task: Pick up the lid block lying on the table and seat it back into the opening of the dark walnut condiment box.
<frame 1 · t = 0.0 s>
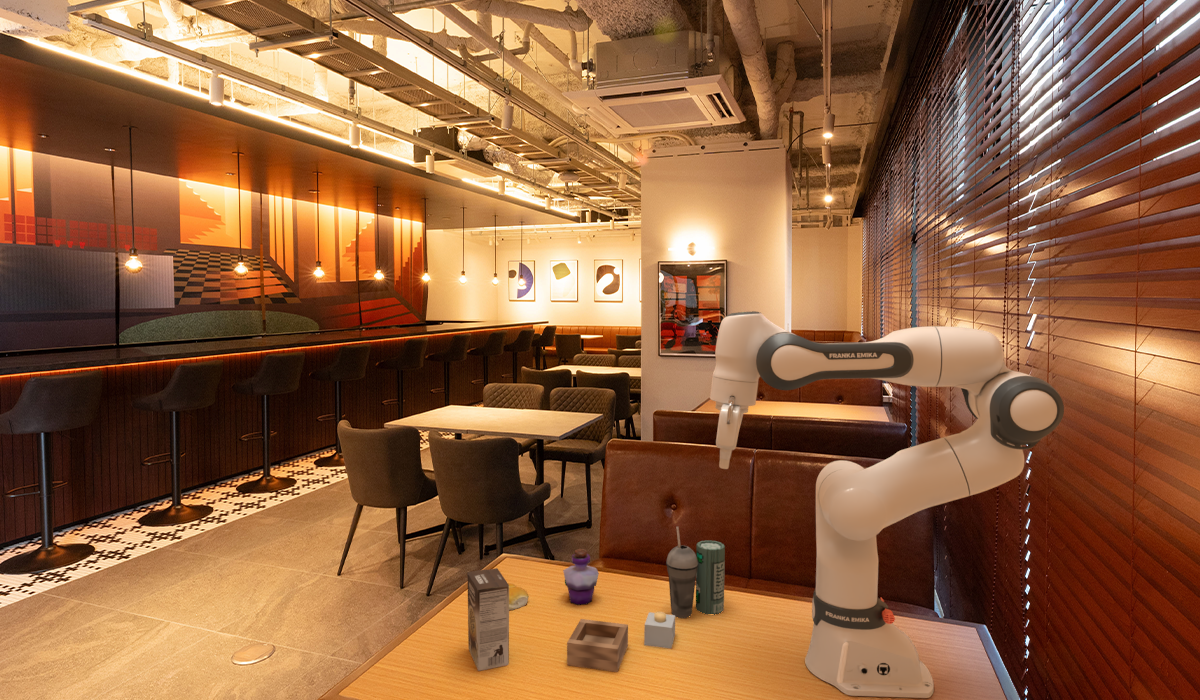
hand: (725, 462, 129), 39 cm above the table, tool pointing down, fingers open, 8 cm apart
can: (709, 609, 151), on the table
condiment box: (598, 655, 131), on the table
bread roll: (509, 603, 154), on the table
coffee box: (488, 658, 130), on the table
beverage cup: (681, 614, 149), on the table
potion bottle: (580, 600, 155), on the table
lid: (659, 640, 137), on the table
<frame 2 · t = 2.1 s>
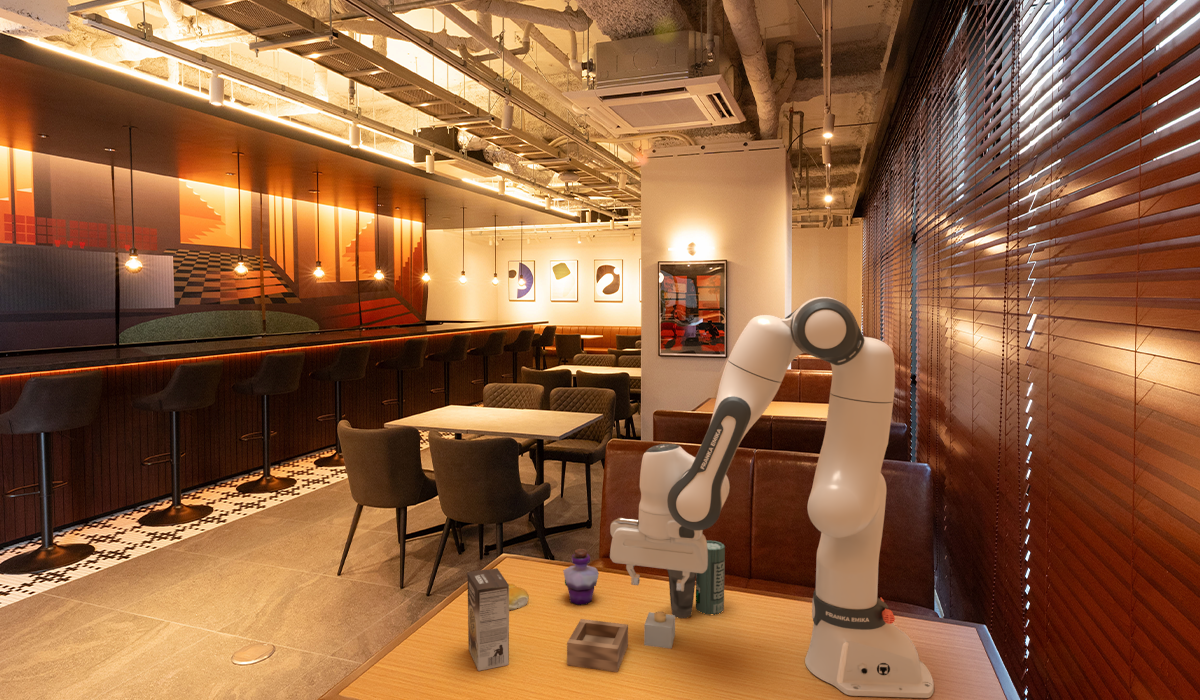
hand: (657, 587, 136), 11 cm above the table, tool pointing down, fingers open, 8 cm apart
nothing on the table moved.
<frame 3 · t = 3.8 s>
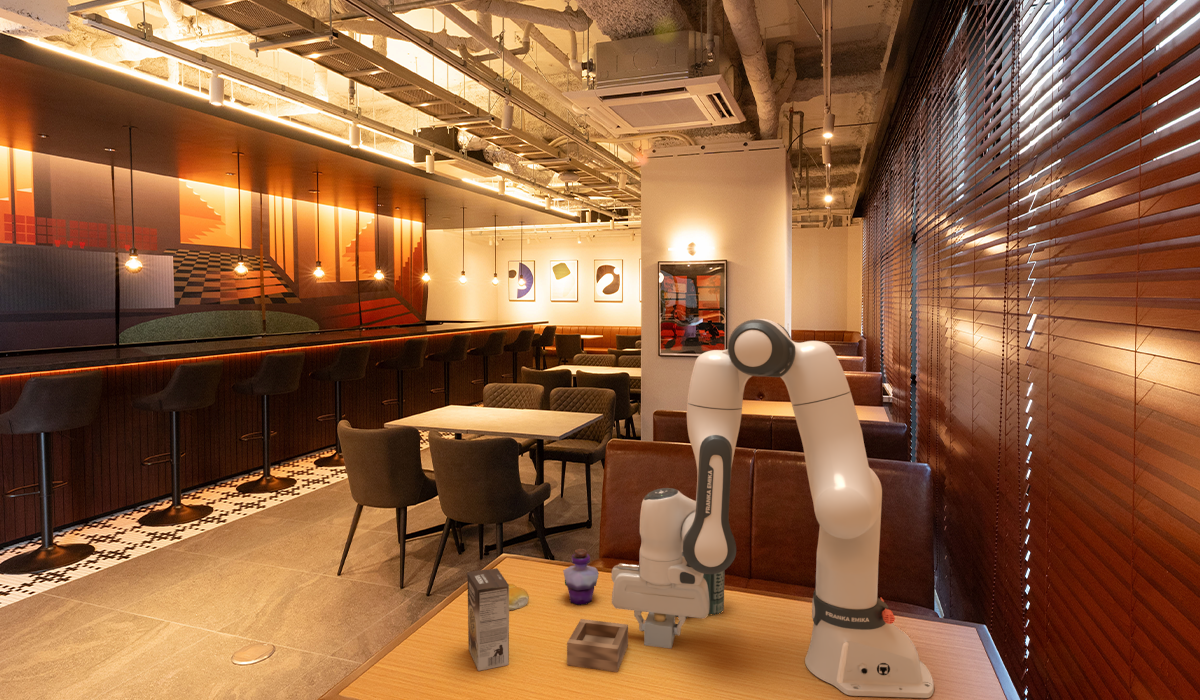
hand: (659, 632, 137), 2 cm above the table, tool pointing down, fingers closed on lid, 6 cm apart
lid: (659, 640, 137), on the table, touching gripper
everything else where it was.
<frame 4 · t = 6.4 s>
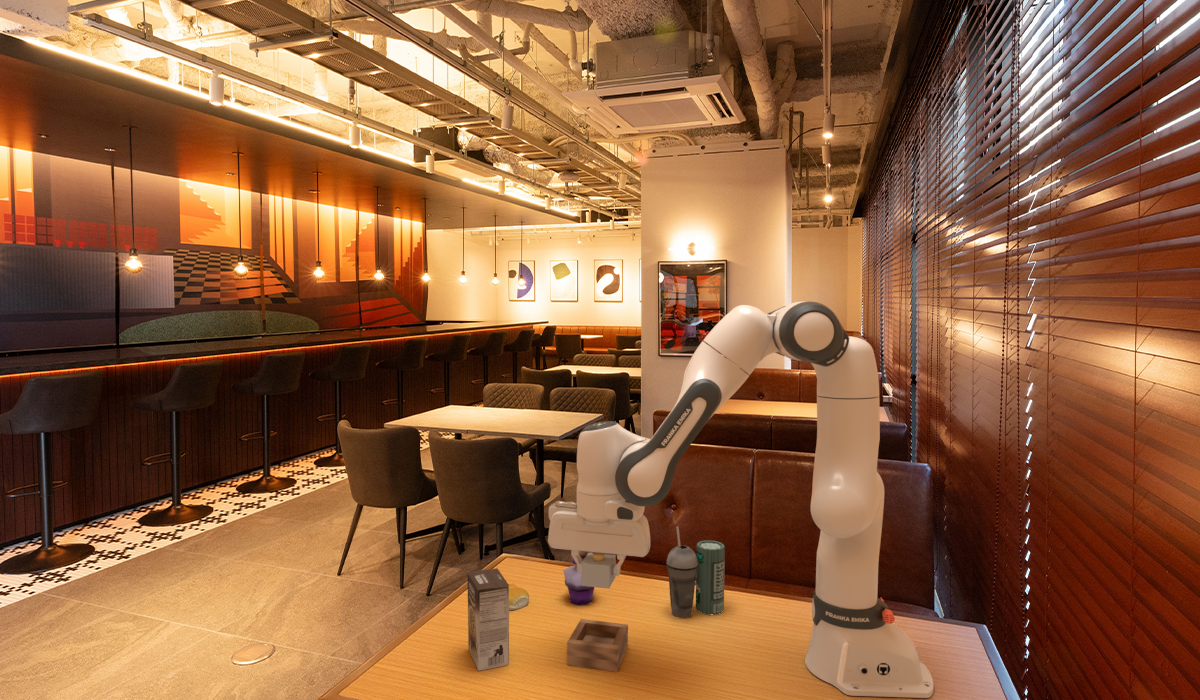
hand: (598, 572, 130), 17 cm above the table, tool pointing down, fingers closed on lid, 6 cm apart
lid: (598, 581, 130), point 15 cm above the table, touching gripper
everything else where it was.
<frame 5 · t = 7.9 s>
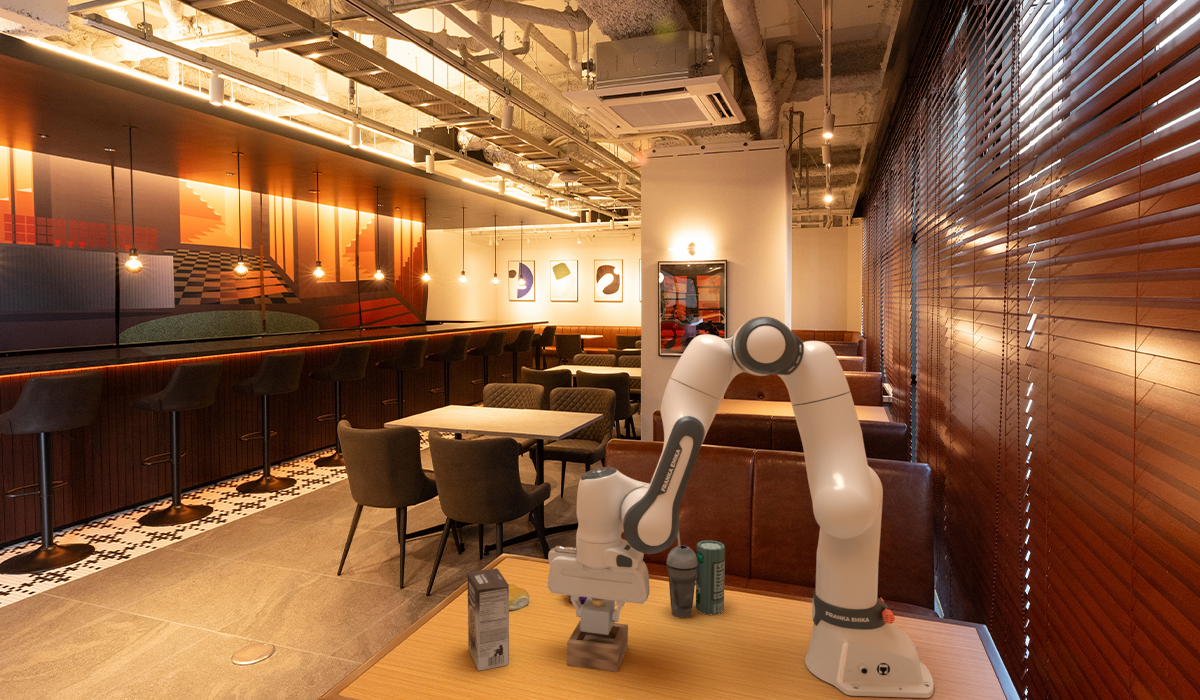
hand: (597, 618, 130), 8 cm above the table, tool pointing down, fingers closed on lid, 6 cm apart
lid: (597, 626, 131), point 6 cm above the table, touching gripper
everything else where it was.
when the fingers open (6 cm above the table, at t = 9.2 s): lid drops 2 cm, resting on condiment box.
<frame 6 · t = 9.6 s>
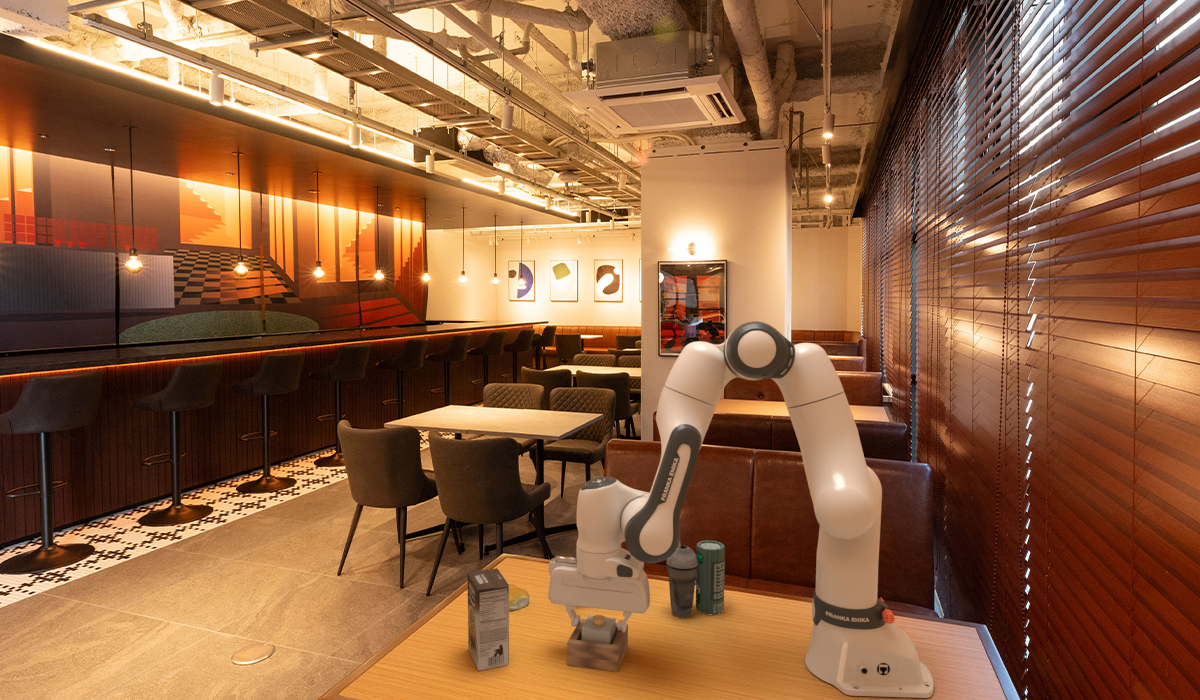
hand: (598, 628, 130), 6 cm above the table, tool pointing down, fingers open, 8 cm apart
lid: (598, 645, 131), point 2 cm above the table, touching condiment box
everything else where it was.
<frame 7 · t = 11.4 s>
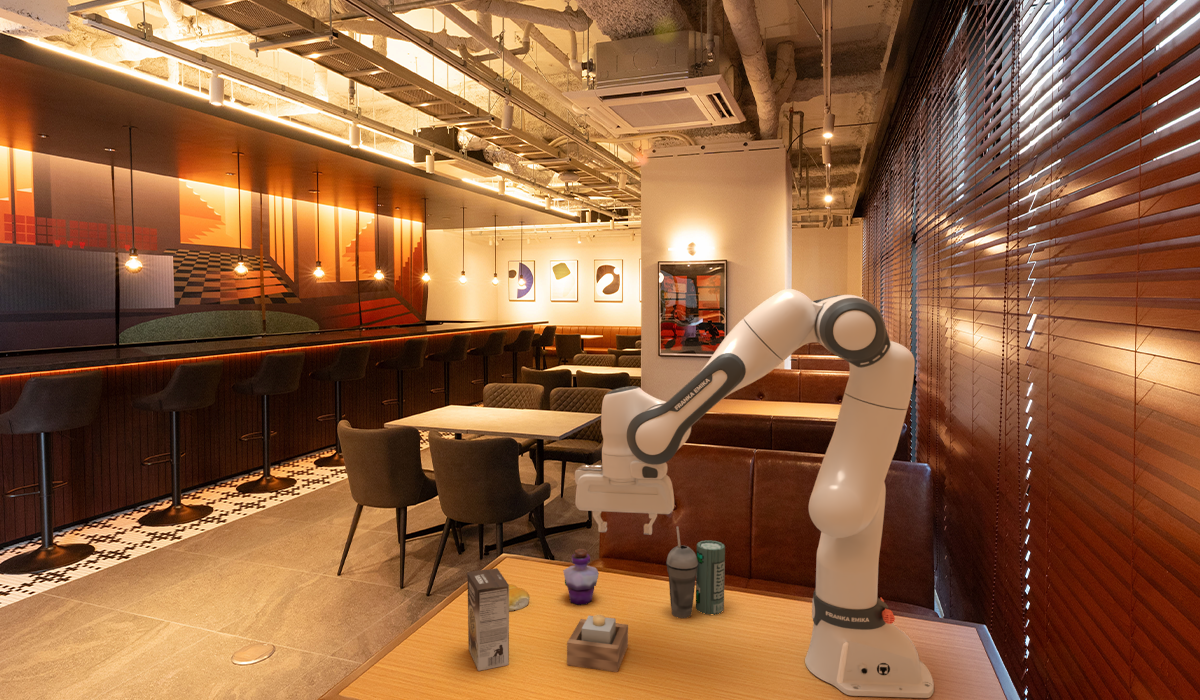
hand: (625, 532, 134), 23 cm above the table, tool pointing down, fingers open, 8 cm apart
nothing on the table moved.
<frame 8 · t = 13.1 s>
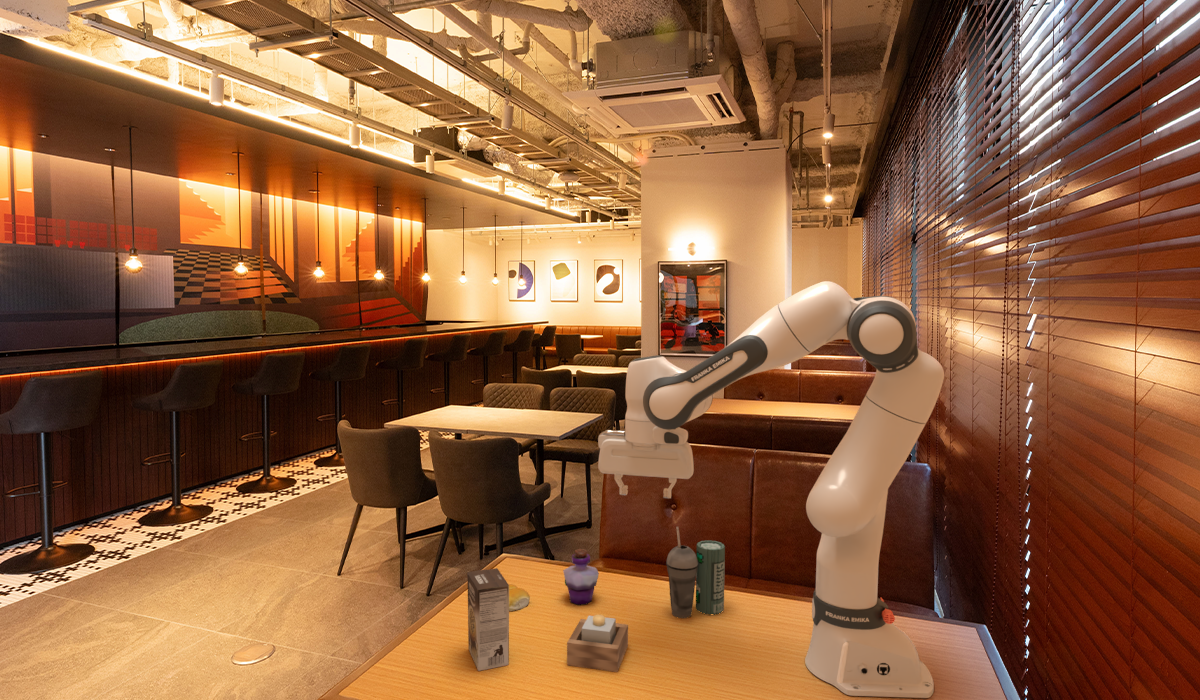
hand: (645, 496, 140), 29 cm above the table, tool pointing down, fingers open, 8 cm apart
nothing on the table moved.
at the end: lid 0.1 cm off-centre on the condiment box, point 2.0 cm above the condiment box's base; lid tilted 0°; the gripper is holding nothing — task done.
